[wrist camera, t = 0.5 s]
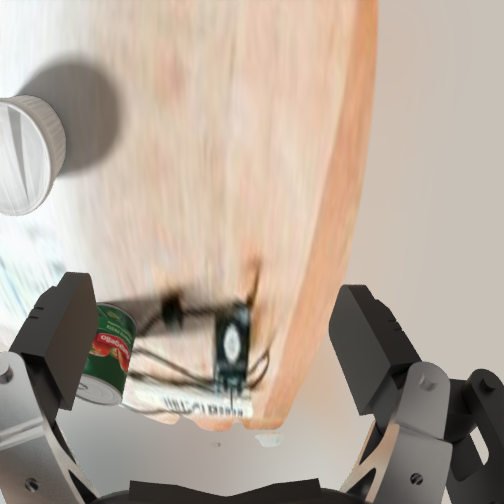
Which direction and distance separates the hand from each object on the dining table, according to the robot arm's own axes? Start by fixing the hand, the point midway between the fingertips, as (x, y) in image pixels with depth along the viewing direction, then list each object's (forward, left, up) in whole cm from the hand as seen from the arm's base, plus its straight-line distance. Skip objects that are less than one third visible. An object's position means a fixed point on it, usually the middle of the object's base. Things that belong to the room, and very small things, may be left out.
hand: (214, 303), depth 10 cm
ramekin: (+3, -19, -20) cm, 28 cm away
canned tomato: (+28, -12, -20) cm, 36 cm away
